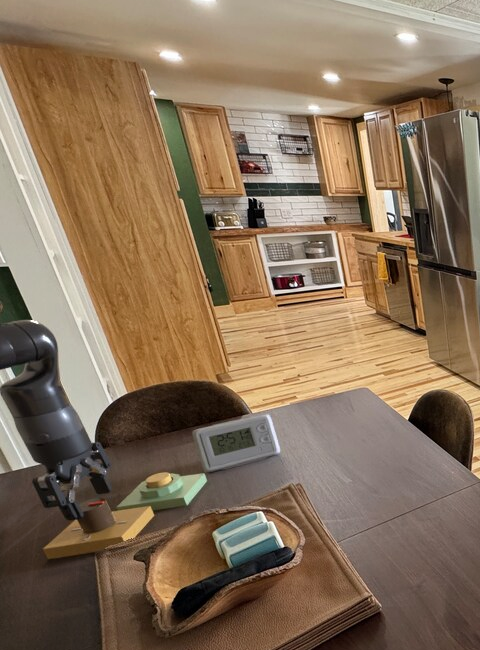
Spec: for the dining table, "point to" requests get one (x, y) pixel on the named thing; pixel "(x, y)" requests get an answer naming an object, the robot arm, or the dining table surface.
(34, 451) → the robot arm
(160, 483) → the bell button
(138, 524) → the lock plate
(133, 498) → the block
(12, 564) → the dining table surface
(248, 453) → the digital clock
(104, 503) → the lock turn
